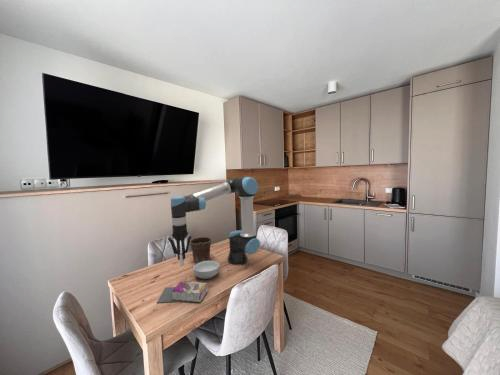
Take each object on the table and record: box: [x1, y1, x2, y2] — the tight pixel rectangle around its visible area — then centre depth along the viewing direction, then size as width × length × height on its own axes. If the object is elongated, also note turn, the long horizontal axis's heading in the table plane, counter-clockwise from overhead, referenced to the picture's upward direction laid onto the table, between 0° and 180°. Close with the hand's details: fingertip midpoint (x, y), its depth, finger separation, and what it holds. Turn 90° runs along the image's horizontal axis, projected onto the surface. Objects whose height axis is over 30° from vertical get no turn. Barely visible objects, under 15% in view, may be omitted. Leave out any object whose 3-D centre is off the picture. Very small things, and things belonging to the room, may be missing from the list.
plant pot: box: [190, 236, 212, 264], centre depth 159 cm, size 16×16×16 cm
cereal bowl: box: [193, 260, 220, 280], centre depth 135 cm, size 17×17×7 cm
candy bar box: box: [171, 280, 209, 303], centre depth 113 cm, size 11×5×16 cm
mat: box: [156, 286, 184, 304], centre depth 115 cm, size 22×14×1 cm, turn 96°
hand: (182, 264), depth 116 cm, fingers closed
